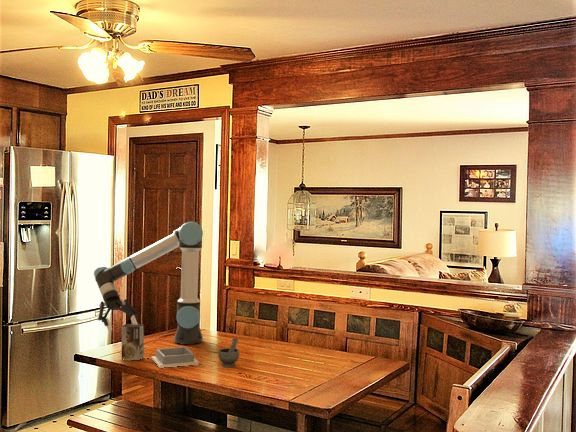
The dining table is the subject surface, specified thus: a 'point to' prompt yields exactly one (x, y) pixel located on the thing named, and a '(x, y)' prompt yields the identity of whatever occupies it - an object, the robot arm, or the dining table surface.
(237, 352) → the mortar and pestle
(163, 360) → the collar tray
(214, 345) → the dining table surface
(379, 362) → the dining table surface
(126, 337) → the coffee box
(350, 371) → the dining table surface
